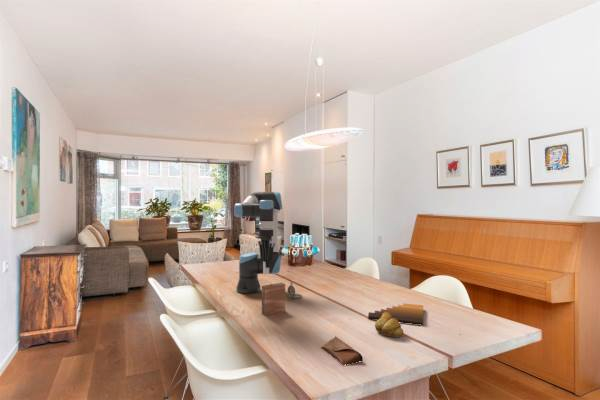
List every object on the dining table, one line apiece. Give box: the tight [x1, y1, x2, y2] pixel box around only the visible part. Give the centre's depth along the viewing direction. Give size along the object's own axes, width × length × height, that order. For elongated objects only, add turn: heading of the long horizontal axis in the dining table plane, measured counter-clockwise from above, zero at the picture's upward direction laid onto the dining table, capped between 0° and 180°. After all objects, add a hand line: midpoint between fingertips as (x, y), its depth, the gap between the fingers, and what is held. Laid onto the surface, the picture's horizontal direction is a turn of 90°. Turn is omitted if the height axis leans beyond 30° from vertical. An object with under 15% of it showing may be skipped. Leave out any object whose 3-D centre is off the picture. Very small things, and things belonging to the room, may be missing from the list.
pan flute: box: [367, 302, 424, 326], centre depth 176 cm, size 25×3×25 cm
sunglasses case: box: [320, 335, 364, 366], centre depth 131 cm, size 18×7×7 cm
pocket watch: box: [287, 281, 303, 299], centre depth 204 cm, size 8×8×10 cm
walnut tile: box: [261, 282, 286, 316], centre depth 178 cm, size 4×12×14 cm, turn 127°
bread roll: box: [374, 312, 404, 338], centre depth 150 cm, size 13×10×8 cm
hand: (266, 273), depth 184 cm, fingers closed
